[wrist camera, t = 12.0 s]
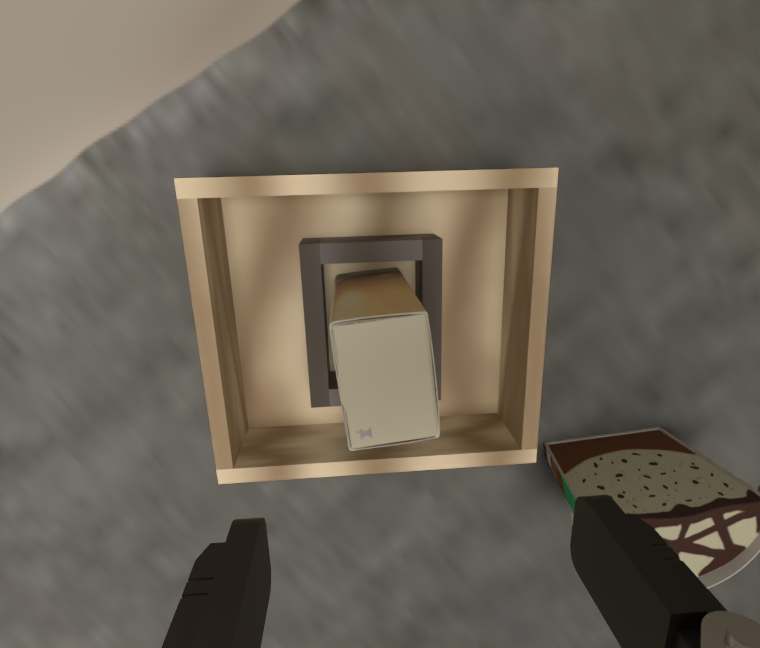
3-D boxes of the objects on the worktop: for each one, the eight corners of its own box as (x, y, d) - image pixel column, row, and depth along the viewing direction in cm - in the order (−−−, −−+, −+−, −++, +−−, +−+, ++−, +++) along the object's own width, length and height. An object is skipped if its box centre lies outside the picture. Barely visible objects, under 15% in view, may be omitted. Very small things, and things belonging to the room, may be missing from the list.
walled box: (519, 169, 31) (558, 167, 26) (505, 418, 37) (535, 462, 31) (206, 178, 30) (173, 178, 24) (238, 434, 35) (218, 484, 30)
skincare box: (408, 352, 33) (444, 445, 22) (346, 361, 33) (348, 459, 22) (398, 260, 32) (431, 309, 20) (332, 269, 31) (326, 323, 20)
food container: (525, 510, 39) (584, 617, 30) (524, 444, 37) (586, 535, 28) (672, 490, 40) (776, 588, 30) (677, 423, 38) (790, 506, 28)
